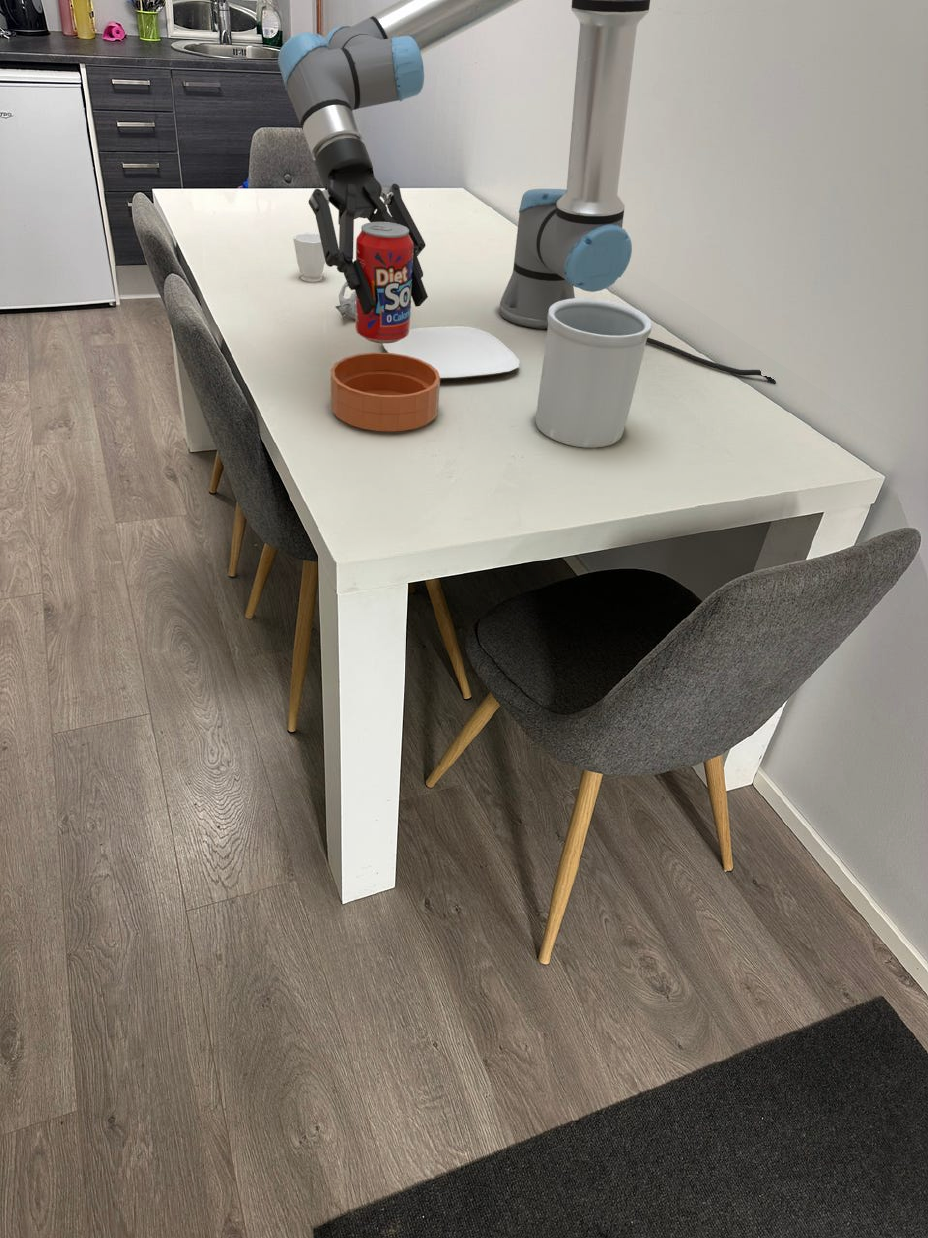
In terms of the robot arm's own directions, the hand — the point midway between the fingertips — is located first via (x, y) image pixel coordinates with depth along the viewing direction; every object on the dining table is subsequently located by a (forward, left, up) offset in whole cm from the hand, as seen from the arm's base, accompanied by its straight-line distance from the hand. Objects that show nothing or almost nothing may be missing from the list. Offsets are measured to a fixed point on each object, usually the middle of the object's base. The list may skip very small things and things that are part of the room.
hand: (396, 305), depth 121 cm
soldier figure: (+17, -41, -17) cm, 47 cm away
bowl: (+2, -2, -17) cm, 17 cm away
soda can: (+2, -2, -6) cm, 7 cm away
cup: (+31, -59, -17) cm, 68 cm away
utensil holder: (-28, -6, -17) cm, 34 cm away
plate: (-4, -26, -17) cm, 31 cm away
